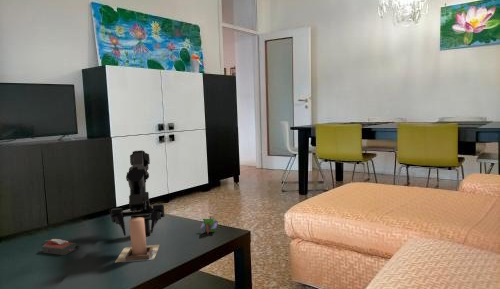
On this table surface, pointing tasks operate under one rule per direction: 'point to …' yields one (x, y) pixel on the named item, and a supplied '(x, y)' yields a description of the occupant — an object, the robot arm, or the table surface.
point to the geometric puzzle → (209, 225)
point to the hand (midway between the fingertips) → (138, 234)
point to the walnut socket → (139, 257)
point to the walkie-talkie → (58, 247)
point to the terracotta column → (138, 236)
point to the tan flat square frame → (125, 252)
